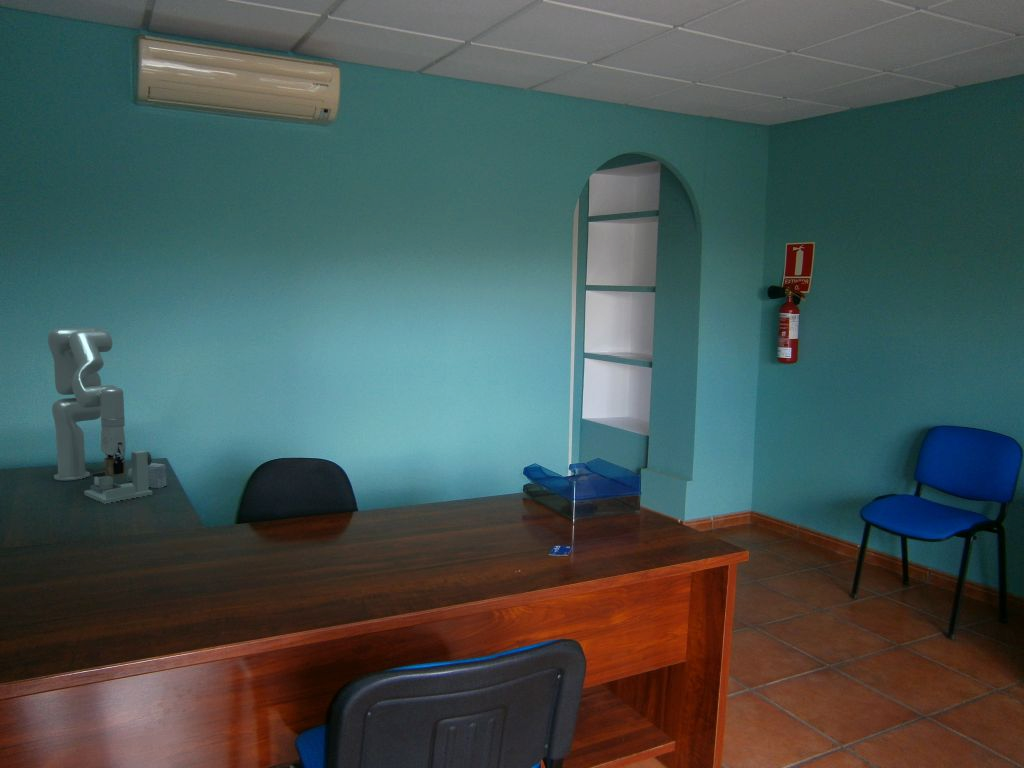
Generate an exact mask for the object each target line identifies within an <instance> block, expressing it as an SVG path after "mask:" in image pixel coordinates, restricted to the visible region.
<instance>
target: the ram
mask: <svg viewBox="0 0 1024 768" xmlns="http://www.w3.org/2000/svg"><path fill="white" fill-rule="evenodd" d="M90 476H91V478H93V479H94V480H93V481H94V483H93V485H94V486H96V487H99V488H101V489H102V490H105V489H111V488H113V483H114V477H110V476H107V475H105V470H103V471H97V472H92V473H91V472H90Z"/></svg>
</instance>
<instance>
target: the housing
mask: <svg viewBox="0 0 1024 768" xmlns="http://www.w3.org/2000/svg"><path fill="white" fill-rule="evenodd" d="M116 457H118V456H116ZM123 460H124V462H123V470H124V472H123V473H121V474H114V467H113V463H114V457H110V458H106V457H105V458H104V459H103V461H104V471H105V475H107V476H110V477H113V478H114V477H117V476H118V477H119V476H124V475H125V476H126V461H125V457H124V459H123Z"/></svg>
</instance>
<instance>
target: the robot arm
mask: <svg viewBox="0 0 1024 768" xmlns="http://www.w3.org/2000/svg"><path fill="white" fill-rule="evenodd" d="M47 344H48V348H49V351H50V353H51V356H52V358H53V366H54V367H53V368H54V369H53V370H54V383H55V390H56V392H57V393H58V394H59V395H63V396H67V395H68V396H70V395H74V397H68V398H61V399H58V400H56V401H55V402H53V404H52V406H51V412H52V417H53V421H54V422H53V423H54V426H55V436H56V456H57V473H56V474H54V475H53V479H54V480H55V481H65V482H66V481H67V482H68V481H78V479H79V480H83V478H84V479H87V478H89V477H90V476H91V472H89V471H87V470H86V453H85V434H84V431H83V429H82V428H81V427H80V426H79V425H78V424H77V423H79V422H85V421H94V420H99V419H100V425H101V427H100V428H101V435H100V451H101V452H102V453H103V454H105V458H110V457H114V463H113V467H114V474H121V473H123V472H124V470H123V462H124V460H123V459H124V458H125V456H126V450H127V449H126V437H125V430H124V429H125V428H124V427H125V426H126V422H125V404H124V402H125V401H124V400H125V399H124V396H125V395H124V390H123V389H122V388H121V387H117V386H116V385H114V384H113V385H112V384H111V385H108V384H107V385H102V380H101V376H100V374H99V372H100V371H101V369H103V367H104V365H105V364H104V360H103V358H102V355H101V353H108V352H110V351H111V350H112V348H113V339H112V336H111V335H110V333H109V332H108V331H107V330H105V329H102V328H99V327H91V326H90V327H85V326H84V327H59V328H54V329H51V331H50V332H49V334H48V337H47ZM116 456H118V457H116ZM86 477H87V478H86Z"/></svg>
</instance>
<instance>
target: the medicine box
mask: <svg viewBox="0 0 1024 768" xmlns="http://www.w3.org/2000/svg"><path fill="white" fill-rule="evenodd" d="M166 469H167V467H166V464H163V463H155V462H154V463H153V462H151V464H150V465H148V485H149V487H151V489H157V488H159V489H162V488H164V486H166V487H167V472H166V471H167V470H166ZM161 487H162V488H161Z"/></svg>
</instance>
